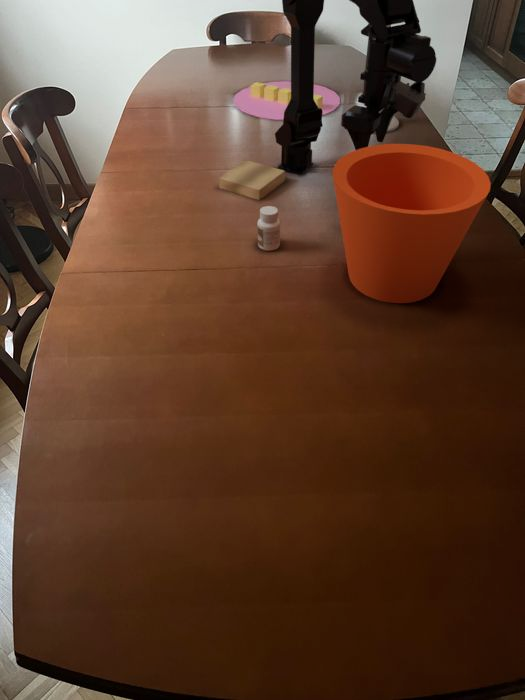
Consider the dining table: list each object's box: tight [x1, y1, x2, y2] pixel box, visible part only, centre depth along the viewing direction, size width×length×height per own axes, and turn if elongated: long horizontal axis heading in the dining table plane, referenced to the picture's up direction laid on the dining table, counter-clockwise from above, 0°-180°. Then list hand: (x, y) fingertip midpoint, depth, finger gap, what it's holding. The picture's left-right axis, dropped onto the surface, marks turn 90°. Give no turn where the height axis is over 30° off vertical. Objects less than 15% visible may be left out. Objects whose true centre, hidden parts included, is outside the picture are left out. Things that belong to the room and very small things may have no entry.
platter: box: [232, 80, 341, 121], centre depth 175 cm, size 32×32×3 cm
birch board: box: [218, 159, 286, 201], centre depth 135 cm, size 11×11×2 cm
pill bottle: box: [257, 205, 281, 252], centre depth 114 cm, size 4×4×8 cm
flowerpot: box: [332, 143, 492, 304], centre depth 102 cm, size 25×25×20 cm
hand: (371, 150), depth 117 cm, fingers open, 9 cm apart
